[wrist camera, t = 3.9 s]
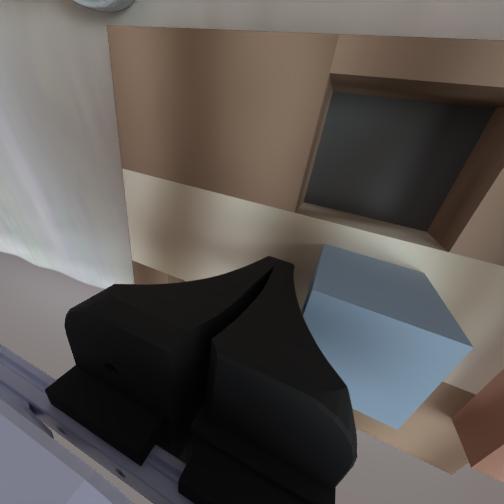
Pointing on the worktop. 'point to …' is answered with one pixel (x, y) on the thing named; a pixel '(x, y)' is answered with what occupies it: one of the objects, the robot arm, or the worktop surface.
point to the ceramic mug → (105, 4)
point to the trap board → (329, 182)
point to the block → (382, 332)
